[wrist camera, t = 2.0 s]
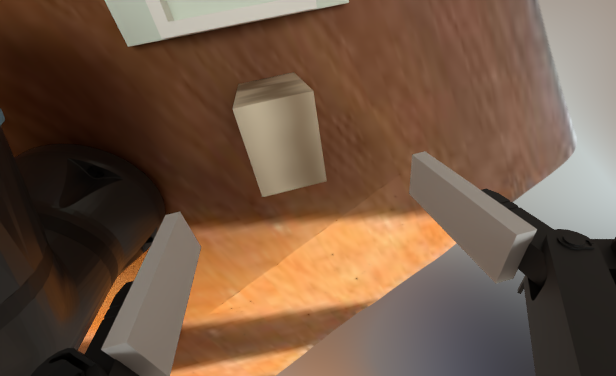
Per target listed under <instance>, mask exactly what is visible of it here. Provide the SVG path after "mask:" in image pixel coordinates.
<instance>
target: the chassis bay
mask: <svg viewBox="0 0 616 376" xmlns="http://www.w3.org/2000/svg"><path fill="white" fill-rule="evenodd" d="M105 2H106V4H107V6H108V8H109V10H110V12H111V14H112V16H113V18H114V20H115V22H116V24H117V26H118V28H119V30H120V32H121V34H122V36H123V38H124V40H125V42H126V44H127V46H128V47H129V46H136V45H141V44H146V43H151V42H156V41H161V40H166V39H171V38H176V37H181V36H186V35H191V34H196V33H201V32H206V31H211V30H216V29H221V28H226V27H231V26H236V25H241V24H246V23H251V22H256V21H261V20H266V19H271V18H276V17H281V16H286V15H291V14H296V13H301V12H306V11H311V10H316V9H322V8H327V7H332V6H337V5H342V4H346V3H349V0H105Z"/></svg>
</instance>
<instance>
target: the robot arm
mask: <svg viewBox="0 0 616 376" xmlns="http://www.w3.org/2000/svg"><path fill="white" fill-rule="evenodd" d="M4 121H5V117H4V115H3V112H2V110H1V109H0V376H170V373H171V368H172V364H173V360H174V356H175V352H176V348H177V344H178V340H179V336H180V332H181V327H182V323H183V319H184V315H185V311H186V307H187V303H188V299H189V295H190V291H191V287H192V282H193V278H194V274H195V270H196V266H197V262H198V258H199V254H200V250H201V246H200V244H199V242H198V241H197V239H196V237H195V236H194V234H193V232H192V231H191V229H190V227H189V226H188V224H187V222H186V221H185V219H184V217H183V216H182V214H181V212H176V213H172V214H168V215H165V205H164V202H163V199H162V196H161V194H160V192H159V191H158V189H157V188H156V186H155V185H154V183H153V182H152V181H151V180H150V179H149V178H148V177H147V176H146V175H145V174H144V173H143V172H142V171H140V170H139V169H138V168H136V167H135V166H133V165H132V164H130V163H129V162H127V161H125V160H123V159H122V158H120V157H118V156H115V155H113V154H111V153H108V152H105V151H102V150H99V149H96V148H92V147H87V146H82V145H74V144H52V145H45V146H40V147H36V148H33V149H30V150H28V151H26V152H24V153H22V154H20V155H18V156H16V157H14V156H13V154H12V152H11V149H10V147H9V144H8V142H7V140H6V137H5V135H4V132H3V130H2V128H1V125H2V123H3V122H4ZM409 194H410V195H411V196H412V197H413V198H414V199H415V200H416V201H417V202H418V203H419V204H420V205H421V206H422V207H423V208H424V210H425V211H426V212H427V213H428V214H429V215H430V216H431V217H432V218H433V219H434V220H435V221H436V222H437V223H438V224H439V225H440V226H441V227H442V228H443V229H444V230H445V231H446V232H447V233H448V234H449V235H450V236H451V237H452V239H453V240H454V241H455V242H456V243H457V244H458V245H459V246H460V247H461V248H462V249H463V250H464V251H465V252H466V253H467V254H468V255H469V256H470V257H471V258H472V259H473V260H474V261H475V262H476V263H477V264H478V265H479V266H480V267H481V269H482V270H484V272H485V273H486V274H487V275H488V276H489V277H490V278H491V279H492V280H493V281H494V282H495V283H499V282H502V281H506V280H510V279H513V278H514V276H515V274H516V272H517V270H518V269H519V270H520V271H521V272H523V273H524V274H525V277H524V279H523V281H522V282H521V284H520V286H519V288H518V293H520V294H521V292H522V291H523V289H524V290H525V298H526V305H527V313H528V320H529V328H530V335H531V343H532V351H533V358H534V366H535V373H536V376H616V237H615V239H589V238H588V237H587V236H584V235H582V234H580V233H577V232H574V231H570V230H563V229H557V230H554V229H552V228H551V227H549V226H548V225H546V224H545V223H543V222H541V221H540V220H539V219H537V218H535V217H534V216H532V215H531V214H529V213H528V212H526V211H525V210H523V209H522V208H519V207H518V206H517V205H516V204H514V203H513V202H510V201H509V200H508V199H507V198H505V197H503V196H502V195H500V194H499V193H496V192H493V191H491V190H488V189H483V190H480V189H478V188H477V187H475V186H474V185H473V184H471V183H470V182H468V181H467V180H465V179H464V178H462V177H461V176H460V175H458V174H457V173H455V172H454V171H452V170H451V169H450V168H448V167H447V166H445V165H444V164H442V163H441V162H439V161H438V160H437V159H435V158H434V157H432V156H431V155H429V154H428V153H426V152H421V153H417V154H413V155H412V165H411V178H410V190H409ZM149 247H150V249H149V251H148V253H147V255H146V257H145V259H144V261H143V263H142V265H141V267H140V269H139V271H138V273H137V276H136V278H135V280H134V281H131V282H128V283H126V284H125V285H124V286H123V287H122V288H121V289H120V291H119V292H118V293H117V294H116V295H115V297H114V299H113V301H112V303H111V305H110V309H108V311H107V313H106V315H105V316H104V320H102V322H101V324H100V326H99V328H98V330H97V332H96V334H95V335H94V337H93V339H92V341H91V343H90V345H89V347H88V349H87V351H86V353H85V355H84V354H83V353H81V352H80V351H78V349H79V347H80V345H81V343H82V341H83V339H84V337H85V336H86V334H87V332H88V330H89V328H90V326H91V324H92V322H93V321H94V319H95V317H96V315H97V313H98V311H99V309H100V308H101V306H102V304H103V302H104V300H105V298H106V296H107V294H108V293H109V291H110V289H111V287H112V285H113V283H114V282H115V280H116V278H117V277H118V276H119V275H120V274H121V273H122V272H123V271H124V270H125V269H126V268H127V267H129V266H130V265H131V264H132V263H133V262H134V261H135V260H136V259H137V258H139V257H140V256H141V255H142V254H143V253H144V252H145V251H146V250H147V249H148V248H149Z"/></svg>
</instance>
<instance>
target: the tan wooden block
mask: <svg viewBox="0 0 616 376" xmlns="http://www.w3.org/2000/svg"><path fill="white" fill-rule="evenodd" d="M233 112H234V115H235V118H236V121H237V124H238V127H239V130H240V132H241V135H242V138H243V141H244V144H245V147H246V150H247V153H248V156H249V159H250V162H251V165H252V168H253V171H254V174H255V177H256V180H257V183H258V186H259V189H260V192H261V195H262V197H266V196H270V195H273V194H277V193H281V192H285V191H289V190H293V189H297V188H301V187H305V186H309V185H313V184H317V183H321V182H325V181H327V180H326V173H325V167H324V160H323V153H322V146H321V140H320V133H319V126H318V119H317V113H316V106H315V99H314V92H313V90H312V89H311V88H310V87H309V86H308V85H307V84H306V83H305V82H303V81H302V80H301V79H300V78H299V77H298V76H297V75H296V74H295V73H294V72H293V73H288V74H284V75H279V76H275V77H270V78H265V79H261V80H256V81H251V82H247V83H242V84H238V89H237V93H236V97H235V101H234V105H233Z"/></svg>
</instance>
